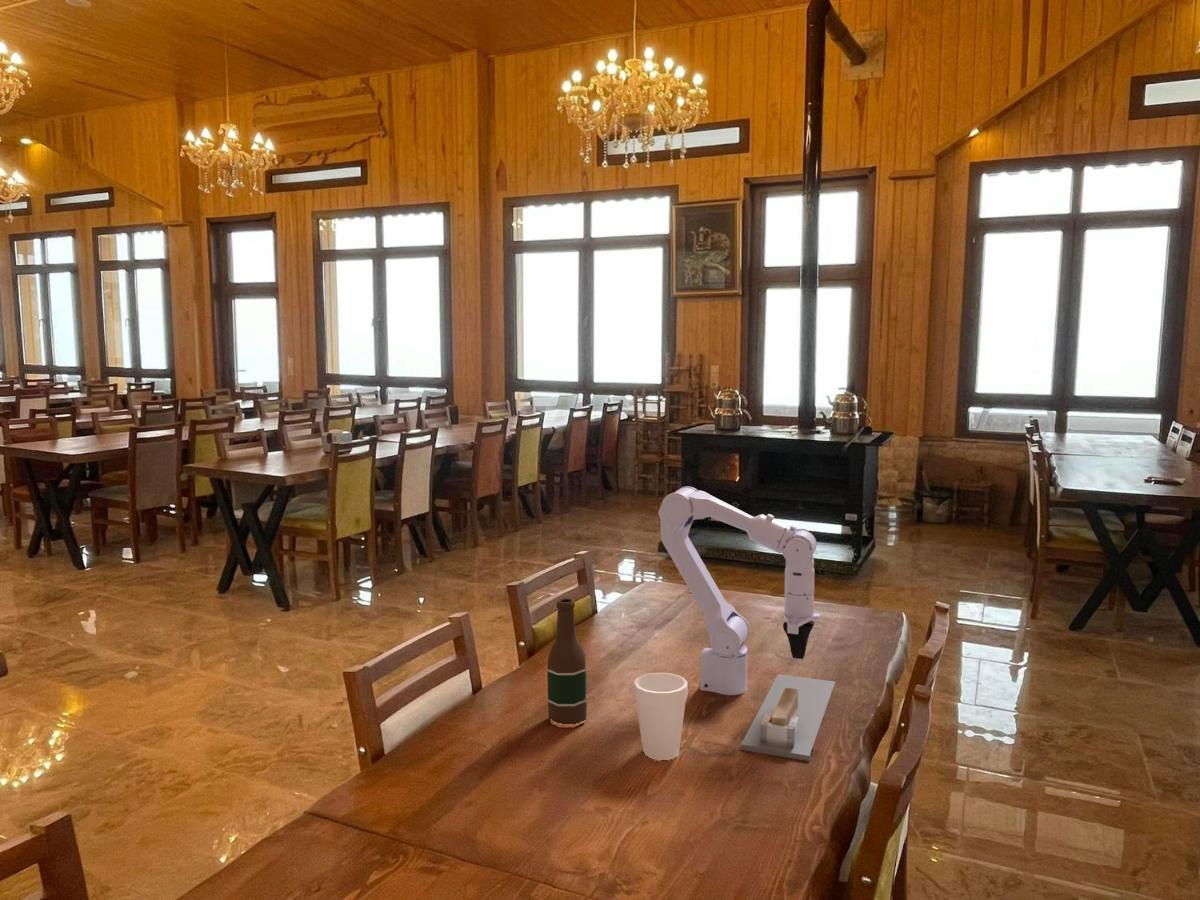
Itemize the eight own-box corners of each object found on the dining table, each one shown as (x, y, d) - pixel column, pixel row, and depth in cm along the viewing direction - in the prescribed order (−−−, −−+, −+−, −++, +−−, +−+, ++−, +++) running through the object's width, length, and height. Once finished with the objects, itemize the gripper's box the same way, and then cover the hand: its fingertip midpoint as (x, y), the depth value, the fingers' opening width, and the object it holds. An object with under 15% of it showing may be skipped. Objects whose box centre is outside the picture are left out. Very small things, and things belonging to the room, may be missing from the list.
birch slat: (771, 740, 153) (771, 716, 153) (784, 709, 166) (785, 687, 166) (785, 742, 152) (785, 718, 152) (797, 711, 165) (798, 689, 165)
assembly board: (740, 749, 152) (741, 744, 152) (778, 678, 184) (778, 674, 184) (809, 761, 148) (809, 755, 148) (835, 686, 180) (835, 681, 180)
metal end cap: (760, 742, 153) (760, 724, 152) (766, 729, 158) (766, 711, 157) (793, 748, 150) (793, 729, 150) (798, 734, 156) (799, 716, 155)
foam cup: (651, 770, 145) (651, 697, 144) (625, 747, 154) (624, 678, 152) (698, 757, 150) (698, 686, 148) (669, 736, 158) (669, 668, 156)
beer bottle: (594, 715, 167) (592, 597, 164) (576, 732, 160) (574, 608, 157) (559, 709, 170) (557, 592, 167) (540, 725, 163) (537, 603, 160)
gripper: (814, 604, 161) (813, 673, 163) (825, 583, 174) (823, 647, 176) (776, 600, 164) (776, 668, 165) (790, 580, 177) (789, 643, 179)
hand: (798, 657), depth 171 cm, fingers closed
